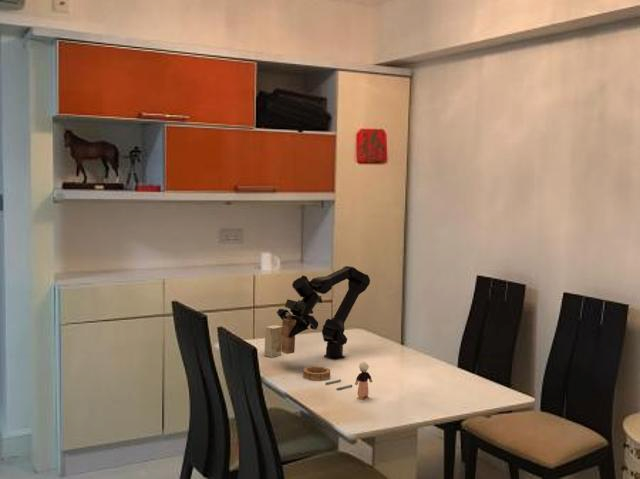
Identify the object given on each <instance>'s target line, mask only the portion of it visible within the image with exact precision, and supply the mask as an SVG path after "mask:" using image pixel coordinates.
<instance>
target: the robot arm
mask: <svg viewBox="0 0 640 479" xmlns="http://www.w3.org/2000/svg"><path fill="white" fill-rule="evenodd" d="M345 280H347V281H348V282H347V286H348V290H347V291H346V294H345V295H344V297H343V299H342V301H341V302H340V305H339V306H338V309H337V310H336V312H335V314H334V316H333V317H332V318H331V319H330V318H327V319H326V320H325V323H324V325H322V329H321V335H322V337H323V342H326V347H325V354H324V355H323V357H325V358H328V359H331V360H338V359H339V360H340V359H343V358H344V359H345V358H346V356H345V355H344V354H343V352H344V345H345V344H347V341H348V338H347V336H346V335H345V334H344V333H345V322H346V321H347V319H348V317H349V314H350V313H351V311H352V309H353V307H354V305H355V303H356V301H357V300H358V297H359V295H360V294H362V293H364V292H365V291H366V290H367V288H368V287H369V285H370V283H371V278H370V276H369V275H368V274H366V273H364V272H362V271H360V270H358V269H357V268H356V267H354V266H350V265H345V266H343V267H342V268H340V269H338V270H336V271H334V272H333V273H330V274H328V275H325V276H318V277H313V278H312V279H311V280H309V279H308V277H307V276H306V275H301V277H298V278H296V279H295V280H293V282H292V284H291V286H292V288H293V290H294V291H295V292H296V293H297V294H298V295H299V296H298V297H300V298H301V300H300V299H298V300H297V301H296V300H294V299H293V300H292V299H288V298H287V299H286V302H285V304H284V308H279V309H278V310H277V312H276V314H277V316H278V317H279V319H281V321H283V319H286V318H287V315H292V316H291V318H292V319H295V320H296V324H295V326H294V328H293V329H292V331H291V333H290V334H289V337H290V338H291V337H293V336H295V337H296V335H298V334H300V333H302V332H304V331H306V330H307V331H308V330H309V328H310V329H311V330H314V331H316V330H317V329H318V327H319V322H318V321H317V319H316V318H315V317H314V315H313V313H314V311H313V310H314V308H315V306H316V305H317V304H318V303H319V304H322V303H323V299H322V295H325V294H327V293H329V292H330V291H331V290H332V289H333V287H334V286H335V285H338V284H340V283H341V282H344V281H345ZM319 294H322V295H319ZM285 308H287V309H285ZM288 309H289V310H288ZM310 314H311V315H310ZM281 335H282V333H281Z"/></svg>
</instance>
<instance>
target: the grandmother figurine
mask: <svg viewBox="0 0 640 479" xmlns="http://www.w3.org/2000/svg"><path fill="white" fill-rule="evenodd" d="M358 367H359V371H360V372H361V373H358V374H357V377H356V378H355V382H354V385H355V386H357V385H358V388H357V398H356V399H358V400H361V401H365V400H366V399H370V397H369V382H370V383H373V379H372V376H371V375H370V373H369V372H368V369H369V368H370V367H369V364H368V363H367V362H366V361H361V362H359V365H358ZM368 380H369V381H368Z"/></svg>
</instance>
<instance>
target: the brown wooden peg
mask: <svg viewBox="0 0 640 479" xmlns="http://www.w3.org/2000/svg"><path fill="white" fill-rule="evenodd" d="M291 316H292V315H287V318H286V319H283V320H282V321H281V322H282V323H281V324H282V325H281V327H282V346H281V353H284V354H286V355H289V354H294V353H295V350H296V349H295V348H296V346H295V345H296V335H295V336H293V337H291V338H290V337H289V334H290V333H291V331H292V329H293V328H294V326H295V324H296V320H295V319H292V318H291Z"/></svg>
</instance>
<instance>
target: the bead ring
mask: <svg viewBox="0 0 640 479" xmlns="http://www.w3.org/2000/svg"><path fill="white" fill-rule="evenodd" d="M302 378H303V379H305V380H309V381H314V382H316V381H318V382H321V381H327V380H330V378H331V369H330V368H328V367H325V366H317V365H315V366H314V365H312V366H306V367H304V368H303V370H302Z"/></svg>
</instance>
